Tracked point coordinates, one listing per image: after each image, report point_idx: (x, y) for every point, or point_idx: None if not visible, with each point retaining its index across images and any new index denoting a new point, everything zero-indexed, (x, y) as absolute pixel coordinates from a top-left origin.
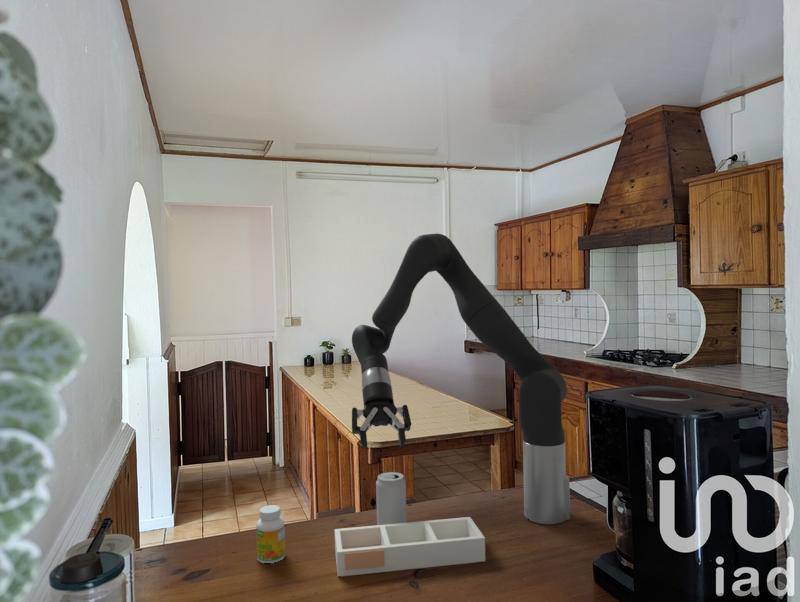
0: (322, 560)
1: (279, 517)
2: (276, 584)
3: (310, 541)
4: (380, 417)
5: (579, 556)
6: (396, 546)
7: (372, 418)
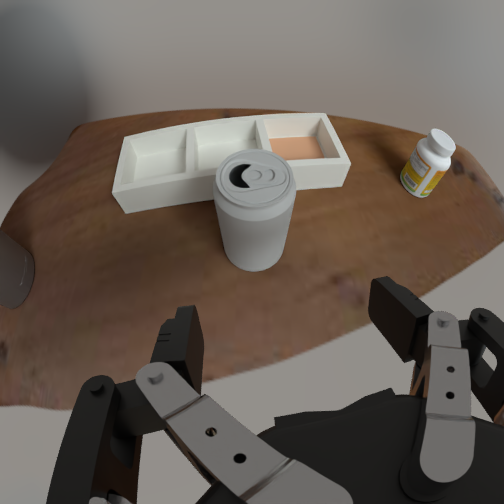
0: (351, 168)
1: (428, 148)
2: (379, 135)
3: (388, 220)
4: (357, 436)
5: (46, 176)
6: (247, 116)
7: (427, 385)
